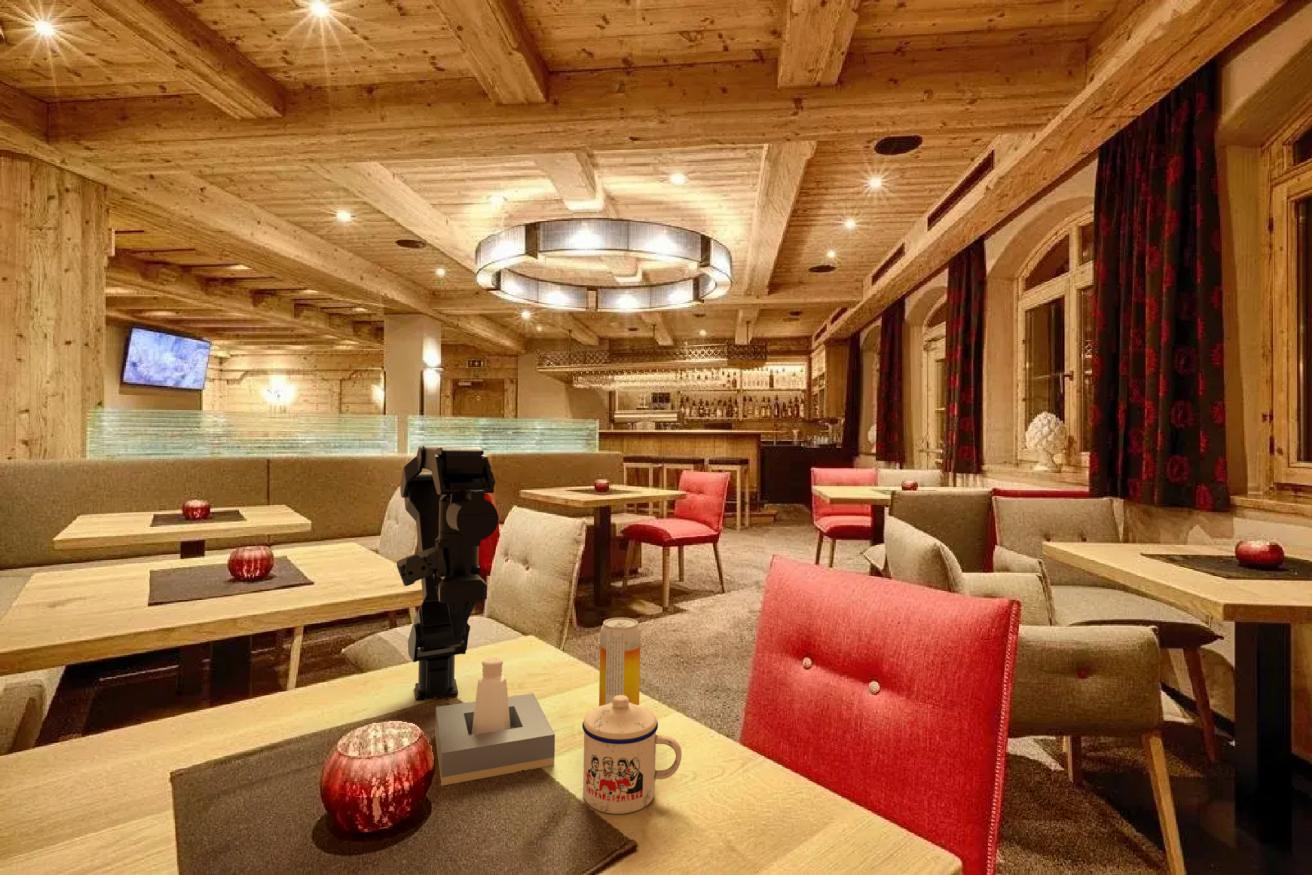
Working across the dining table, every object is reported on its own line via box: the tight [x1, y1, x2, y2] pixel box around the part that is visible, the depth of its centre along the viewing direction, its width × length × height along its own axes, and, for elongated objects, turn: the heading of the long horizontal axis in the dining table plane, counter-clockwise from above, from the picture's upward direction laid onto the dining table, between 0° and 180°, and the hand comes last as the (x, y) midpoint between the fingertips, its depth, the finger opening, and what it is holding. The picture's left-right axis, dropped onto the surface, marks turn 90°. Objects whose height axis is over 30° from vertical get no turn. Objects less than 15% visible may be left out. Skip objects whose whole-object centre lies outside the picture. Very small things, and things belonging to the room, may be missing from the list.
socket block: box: [434, 692, 556, 787], centre depth 86 cm, size 14×14×4 cm
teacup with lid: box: [581, 695, 682, 815], centre depth 75 cm, size 12×9×12 cm
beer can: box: [598, 617, 642, 707], centre depth 95 cm, size 6×6×15 cm
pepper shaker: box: [471, 656, 511, 735], centre depth 86 cm, size 5×5×11 cm
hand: (457, 635), depth 93 cm, fingers closed
